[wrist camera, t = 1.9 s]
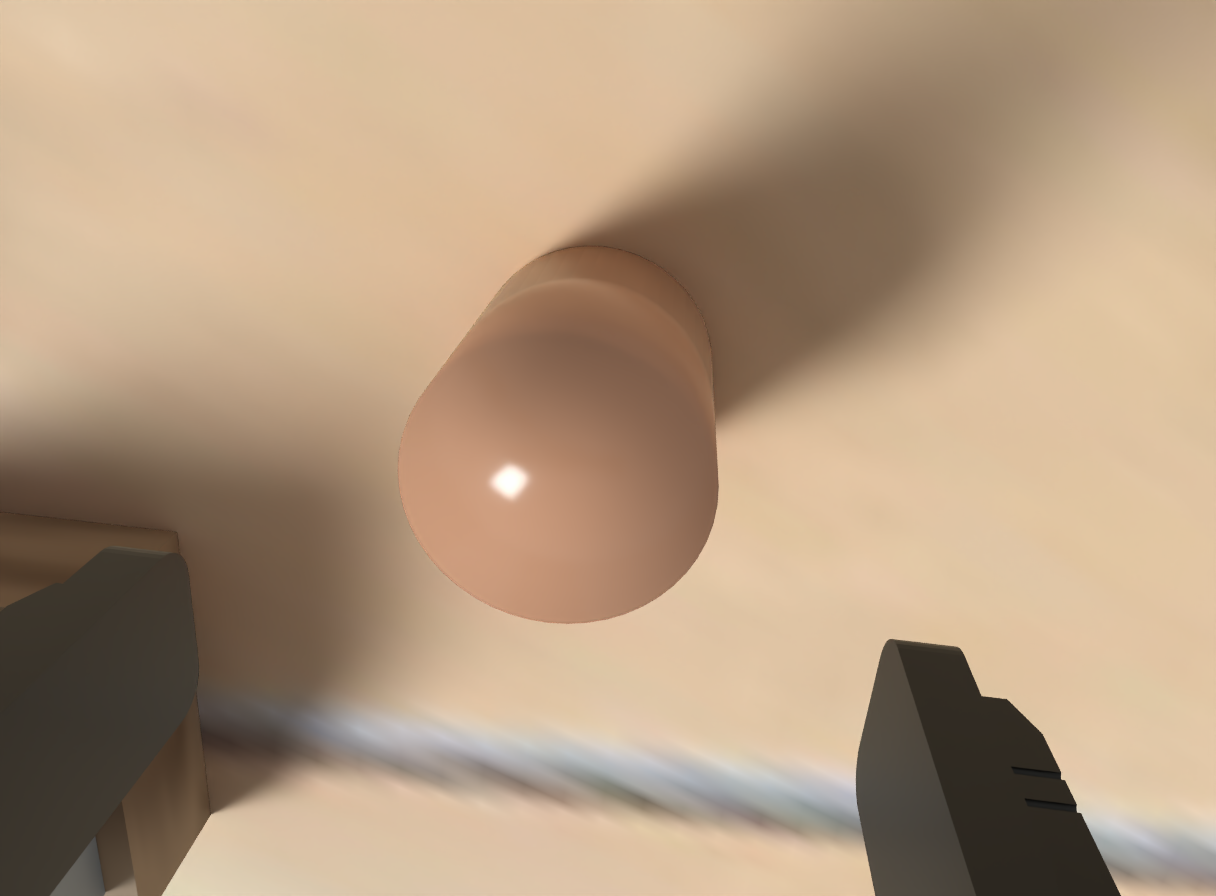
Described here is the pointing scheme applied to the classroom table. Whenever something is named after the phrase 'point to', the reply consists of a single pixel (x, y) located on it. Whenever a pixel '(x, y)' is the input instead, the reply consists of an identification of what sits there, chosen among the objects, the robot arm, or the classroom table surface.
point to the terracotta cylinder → (569, 442)
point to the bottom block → (176, 778)
